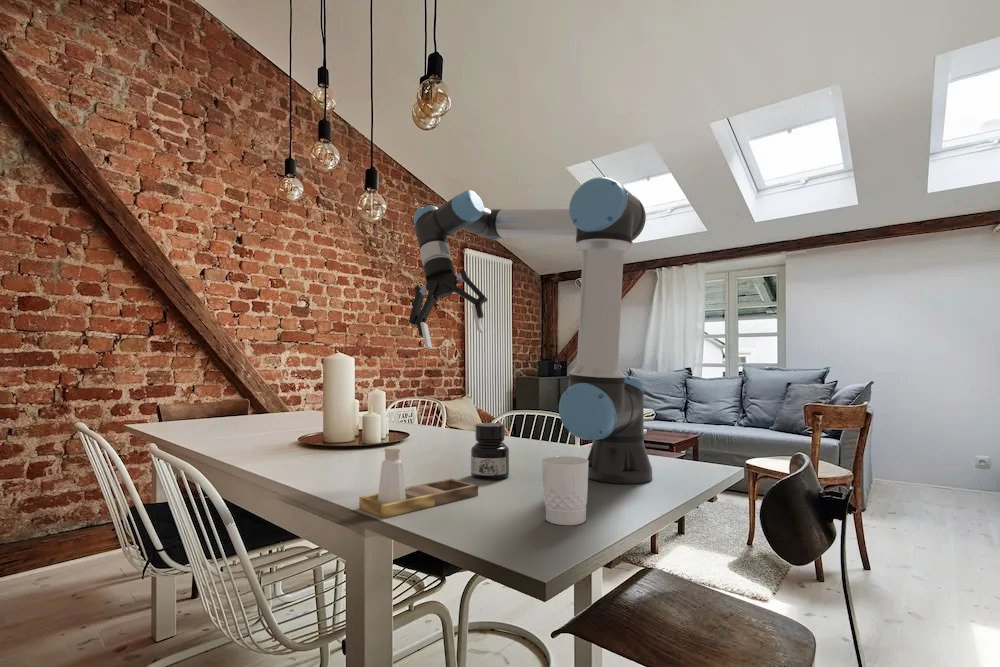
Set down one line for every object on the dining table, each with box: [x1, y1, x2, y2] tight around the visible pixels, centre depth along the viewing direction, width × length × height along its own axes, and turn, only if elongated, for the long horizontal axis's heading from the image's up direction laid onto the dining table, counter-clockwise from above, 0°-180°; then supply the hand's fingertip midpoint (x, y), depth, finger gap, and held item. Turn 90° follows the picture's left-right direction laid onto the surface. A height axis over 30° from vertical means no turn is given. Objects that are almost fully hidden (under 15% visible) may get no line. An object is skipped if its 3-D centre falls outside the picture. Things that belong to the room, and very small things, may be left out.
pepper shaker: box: [377, 445, 406, 504], centre depth 97 cm, size 5×5×11 cm
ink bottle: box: [470, 422, 510, 481], centre depth 123 cm, size 10×9×12 cm
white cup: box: [541, 455, 589, 526], centre depth 90 cm, size 8×8×10 cm
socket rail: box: [358, 478, 479, 519], centre depth 101 cm, size 22×8×2 cm, turn 134°
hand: (454, 339), depth 128 cm, fingers open, 13 cm apart
